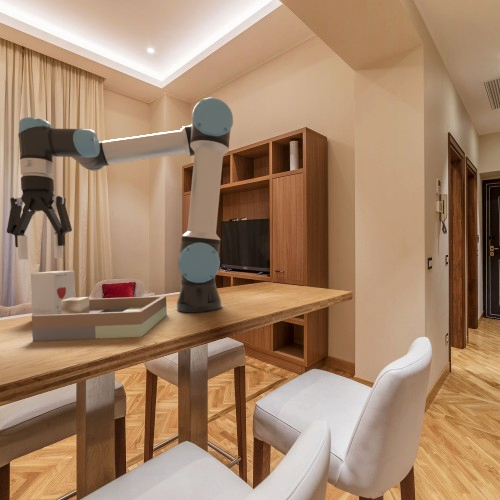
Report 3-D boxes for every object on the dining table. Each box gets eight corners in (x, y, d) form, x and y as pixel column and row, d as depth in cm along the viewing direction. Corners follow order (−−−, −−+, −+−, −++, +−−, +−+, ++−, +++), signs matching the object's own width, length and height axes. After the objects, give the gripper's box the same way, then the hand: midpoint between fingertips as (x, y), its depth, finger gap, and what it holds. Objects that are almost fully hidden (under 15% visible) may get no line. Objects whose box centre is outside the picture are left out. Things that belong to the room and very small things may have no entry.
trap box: (166, 314, 100) (166, 296, 99) (141, 336, 76) (140, 311, 75) (84, 318, 99) (83, 299, 99) (32, 341, 75) (31, 316, 75)
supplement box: (55, 321, 97) (53, 272, 97) (31, 320, 99) (29, 273, 98) (77, 314, 106) (75, 270, 106) (54, 314, 108) (52, 270, 107)
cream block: (89, 314, 90) (89, 297, 90) (80, 318, 85) (79, 300, 85) (72, 315, 90) (71, 297, 90) (61, 319, 85) (61, 300, 85)
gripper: (-14, 175, 83) (-10, 260, 83) (69, 172, 83) (72, 257, 83) (8, 181, 90) (11, 259, 91) (84, 178, 91) (87, 256, 91)
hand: (41, 258), depth 87 cm, fingers open, 9 cm apart
